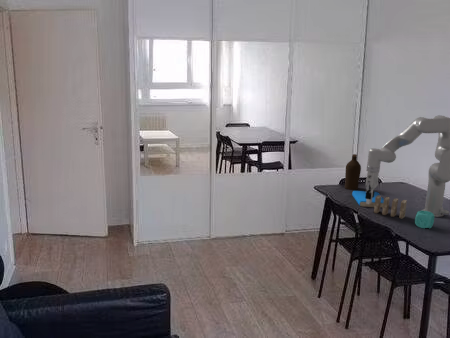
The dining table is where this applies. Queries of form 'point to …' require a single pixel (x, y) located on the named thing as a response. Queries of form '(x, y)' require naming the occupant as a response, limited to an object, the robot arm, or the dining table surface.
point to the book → (361, 198)
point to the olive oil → (352, 173)
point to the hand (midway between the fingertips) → (369, 197)
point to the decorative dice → (424, 219)
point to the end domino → (369, 199)
